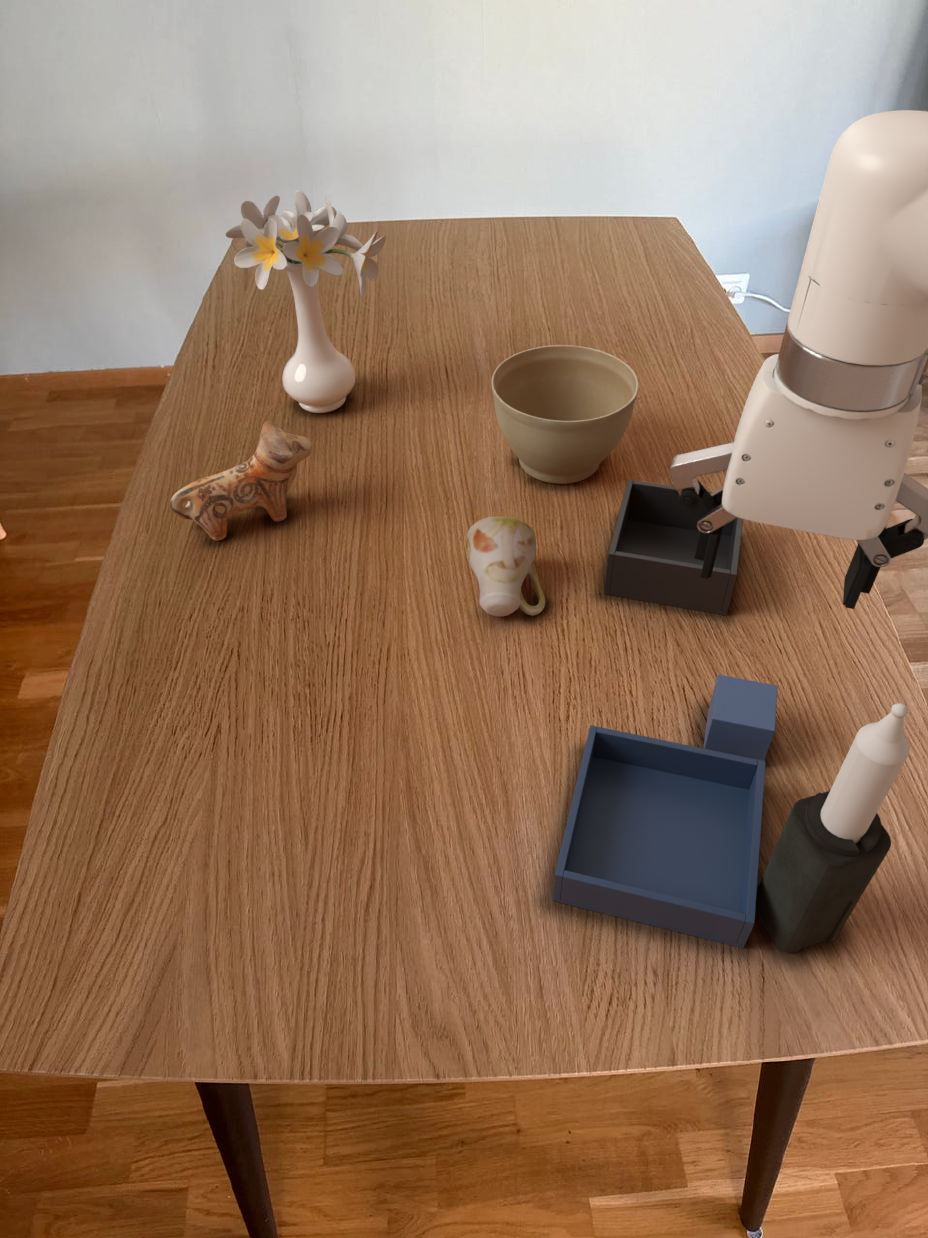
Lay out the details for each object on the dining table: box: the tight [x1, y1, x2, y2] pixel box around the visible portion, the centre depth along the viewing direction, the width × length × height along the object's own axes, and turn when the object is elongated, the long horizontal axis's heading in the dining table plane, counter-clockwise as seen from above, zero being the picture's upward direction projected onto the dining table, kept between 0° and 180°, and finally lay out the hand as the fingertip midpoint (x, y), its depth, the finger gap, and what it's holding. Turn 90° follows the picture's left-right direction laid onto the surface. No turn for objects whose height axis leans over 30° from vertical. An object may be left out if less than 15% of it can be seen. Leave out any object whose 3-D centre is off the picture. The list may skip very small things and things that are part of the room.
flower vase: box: [225, 189, 387, 414], centre depth 110 cm, size 13×18×25 cm
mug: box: [465, 515, 546, 618], centre depth 92 cm, size 8×10×10 cm
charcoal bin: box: [603, 479, 744, 616], centre depth 93 cm, size 12×12×6 cm
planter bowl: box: [491, 344, 640, 485], centre depth 104 cm, size 16×16×11 cm
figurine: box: [169, 419, 313, 542], centre depth 99 cm, size 7×16×10 cm, turn 117°
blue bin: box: [552, 724, 766, 949], centre depth 71 cm, size 14×14×4 cm
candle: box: [755, 702, 910, 955], centre depth 59 cm, size 5×5×25 cm
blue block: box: [702, 674, 779, 761], centre depth 78 cm, size 5×5×5 cm
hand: (777, 579), depth 64 cm, fingers open, 9 cm apart
